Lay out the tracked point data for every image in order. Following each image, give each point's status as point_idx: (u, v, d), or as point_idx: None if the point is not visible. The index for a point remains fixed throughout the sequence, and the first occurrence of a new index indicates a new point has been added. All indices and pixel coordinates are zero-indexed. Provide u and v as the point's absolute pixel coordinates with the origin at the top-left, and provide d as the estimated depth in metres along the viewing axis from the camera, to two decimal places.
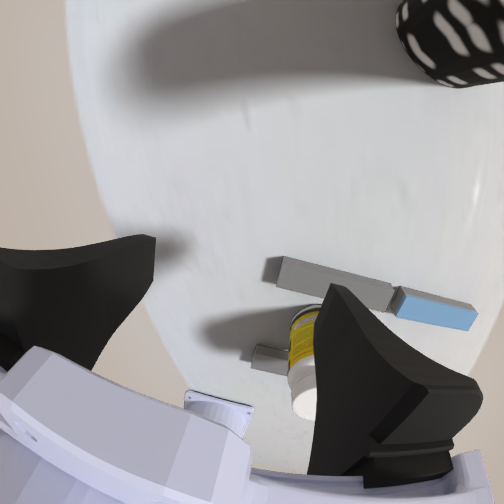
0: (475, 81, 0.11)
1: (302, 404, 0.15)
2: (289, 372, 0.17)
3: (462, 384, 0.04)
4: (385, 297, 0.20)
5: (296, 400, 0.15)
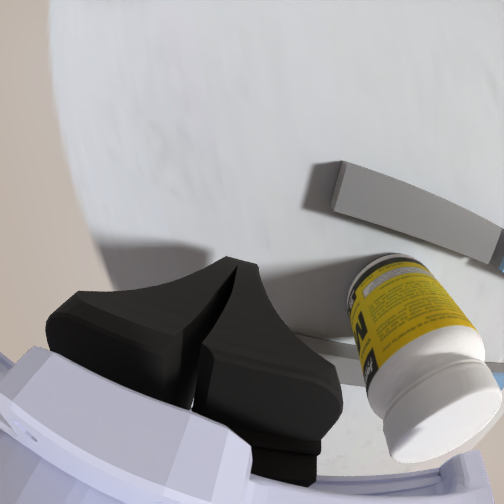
0: None
1: (415, 440, 0.05)
2: (378, 375, 0.08)
3: (286, 365, 0.04)
4: (491, 238, 0.10)
5: (408, 435, 0.05)
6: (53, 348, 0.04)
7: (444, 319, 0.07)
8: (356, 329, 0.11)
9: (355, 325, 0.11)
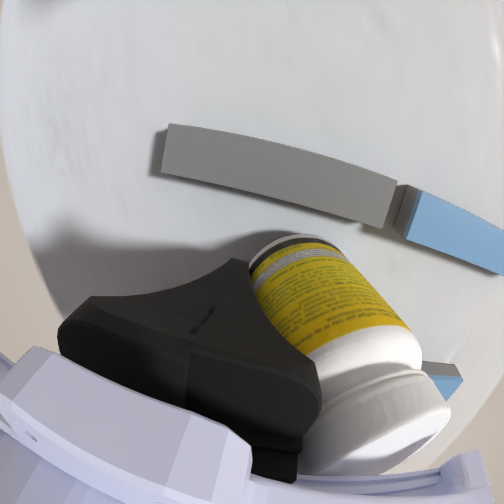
0: None
1: None
2: None
3: (260, 360, 0.04)
4: (380, 194, 0.10)
5: None
6: (65, 355, 0.04)
7: (354, 320, 0.06)
8: None
9: None
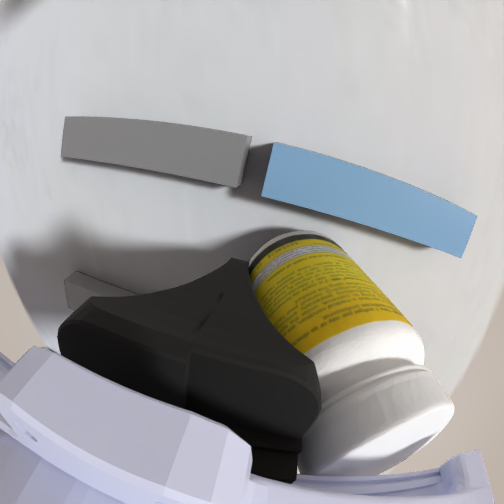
0: None
1: None
2: None
3: (260, 359, 0.04)
4: (229, 151, 0.10)
5: None
6: (65, 355, 0.04)
7: (351, 316, 0.06)
8: None
9: None
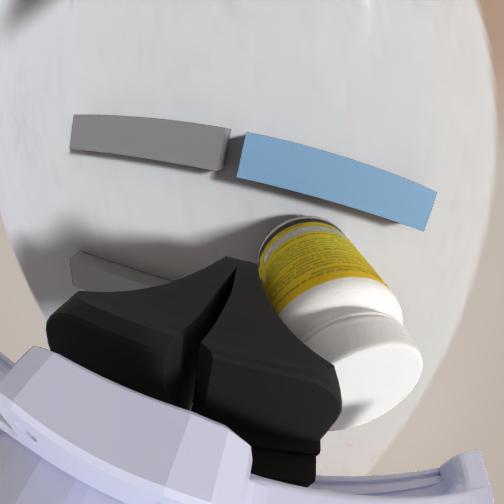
0: None
1: None
2: None
3: (284, 365, 0.04)
4: (210, 141, 0.12)
5: None
6: (53, 348, 0.04)
7: (332, 272, 0.08)
8: None
9: None
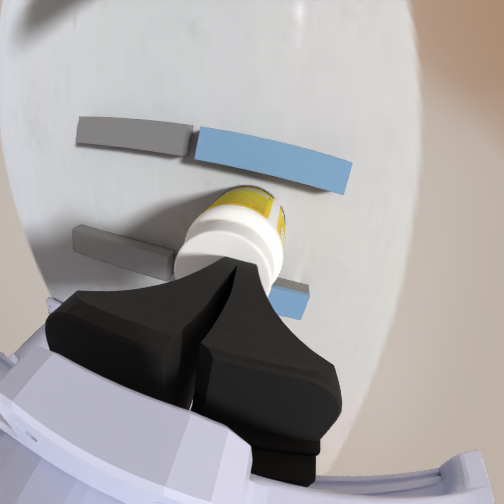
0: None
1: None
2: None
3: (284, 365, 0.04)
4: (177, 134, 0.16)
5: (177, 268, 0.11)
6: (52, 348, 0.04)
7: (223, 203, 0.13)
8: None
9: None
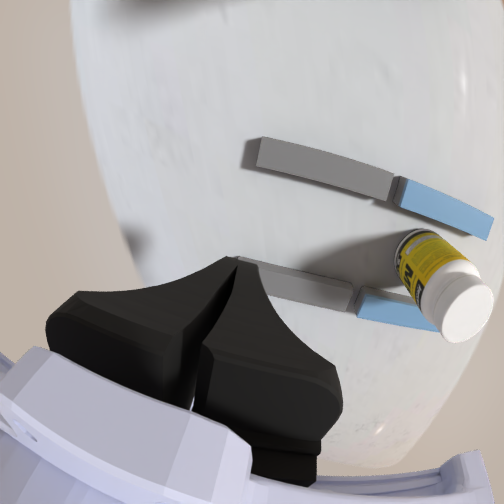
0: None
1: (452, 318, 0.12)
2: (425, 290, 0.14)
3: (285, 365, 0.04)
4: (384, 181, 0.17)
5: (448, 312, 0.12)
6: (53, 348, 0.04)
7: (453, 257, 0.14)
8: (405, 274, 0.17)
9: (404, 272, 0.17)
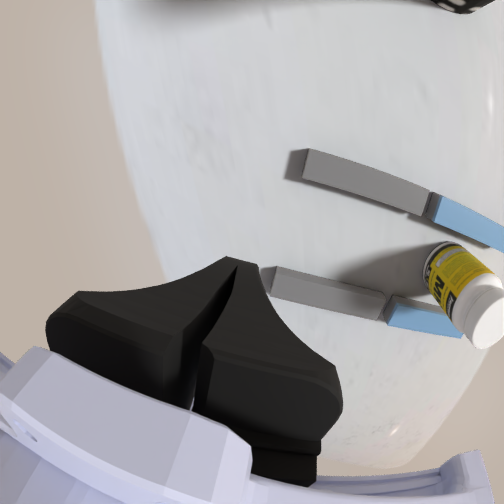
0: None
1: (481, 327, 0.12)
2: (457, 301, 0.14)
3: (286, 364, 0.04)
4: (421, 197, 0.17)
5: (479, 322, 0.12)
6: (53, 348, 0.04)
7: (482, 271, 0.14)
8: (435, 285, 0.17)
9: (434, 283, 0.17)
